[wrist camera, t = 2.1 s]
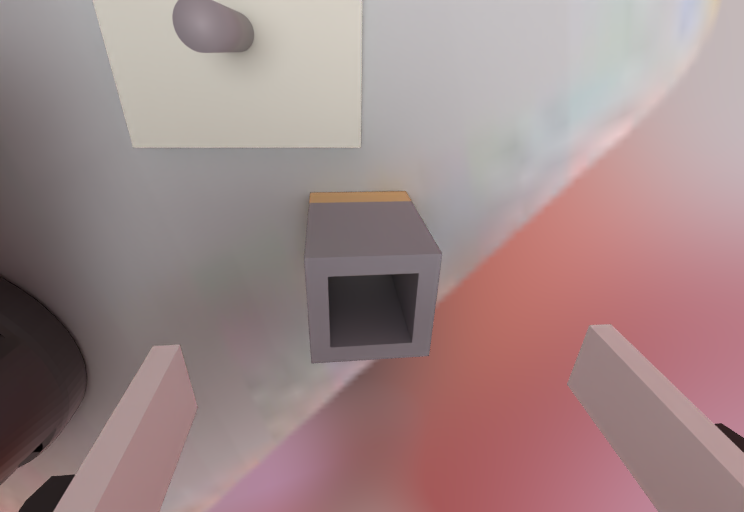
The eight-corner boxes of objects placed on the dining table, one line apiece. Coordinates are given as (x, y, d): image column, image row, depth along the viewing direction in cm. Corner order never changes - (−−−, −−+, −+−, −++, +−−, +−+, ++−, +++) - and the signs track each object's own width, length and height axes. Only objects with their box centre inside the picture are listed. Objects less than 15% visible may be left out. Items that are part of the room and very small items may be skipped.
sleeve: (315, 275, 22) (311, 363, 16) (310, 192, 19) (303, 258, 13) (399, 272, 22) (429, 356, 16) (405, 191, 20) (442, 253, 14)
